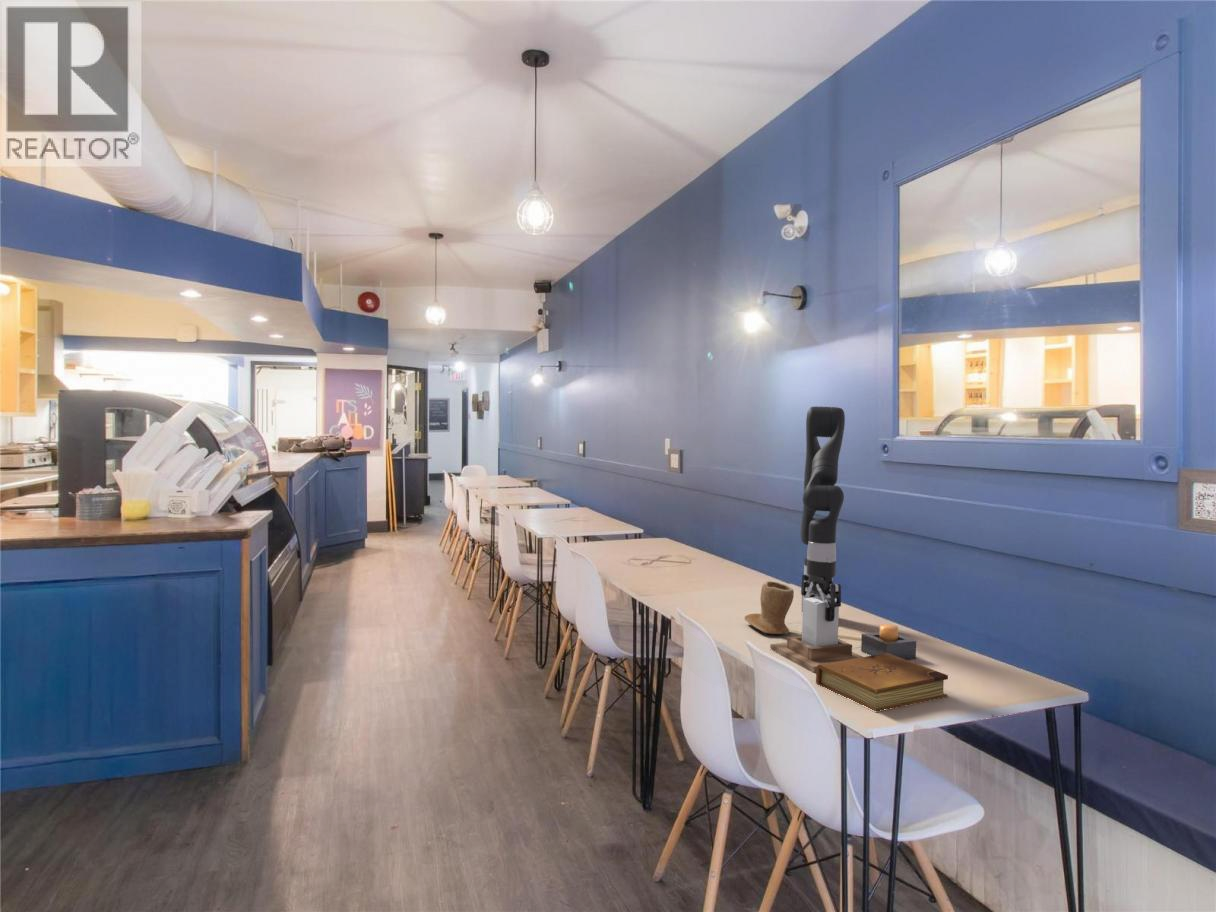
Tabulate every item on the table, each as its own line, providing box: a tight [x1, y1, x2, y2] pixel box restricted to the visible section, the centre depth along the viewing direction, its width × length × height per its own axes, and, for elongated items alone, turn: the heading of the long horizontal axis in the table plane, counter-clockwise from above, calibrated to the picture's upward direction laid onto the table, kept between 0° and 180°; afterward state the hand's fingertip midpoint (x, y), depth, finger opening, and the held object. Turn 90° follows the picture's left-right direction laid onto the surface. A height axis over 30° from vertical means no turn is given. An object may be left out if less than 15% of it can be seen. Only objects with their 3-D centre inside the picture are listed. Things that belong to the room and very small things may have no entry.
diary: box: [815, 653, 949, 712], centre depth 166 cm, size 23×19×6 cm
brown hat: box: [743, 580, 795, 635], centre depth 216 cm, size 15×12×15 cm
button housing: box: [860, 631, 917, 661], centre depth 193 cm, size 10×10×5 cm
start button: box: [878, 623, 899, 641], centre depth 193 cm, size 5×5×4 cm
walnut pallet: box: [769, 635, 864, 674], centre depth 190 cm, size 20×18×4 cm
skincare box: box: [801, 596, 840, 647], centre depth 189 cm, size 8×6×15 cm
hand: (819, 616), depth 190 cm, fingers open, 8 cm apart
